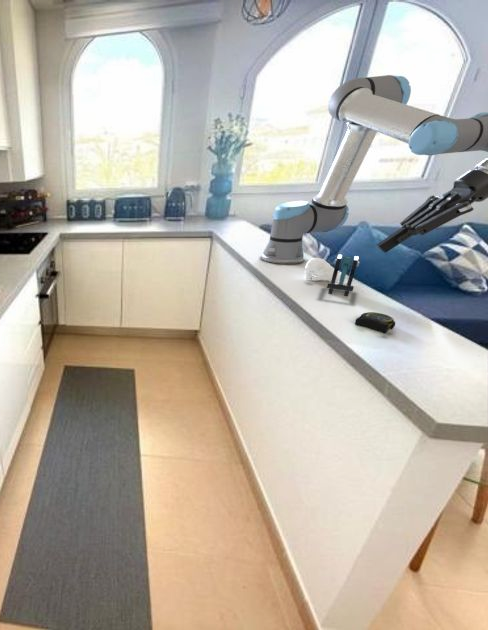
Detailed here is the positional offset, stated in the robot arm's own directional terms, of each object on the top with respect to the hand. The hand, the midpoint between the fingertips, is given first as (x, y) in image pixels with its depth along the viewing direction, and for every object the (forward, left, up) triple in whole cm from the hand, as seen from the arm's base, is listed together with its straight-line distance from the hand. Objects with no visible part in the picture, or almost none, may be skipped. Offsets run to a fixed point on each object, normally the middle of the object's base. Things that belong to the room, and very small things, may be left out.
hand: (381, 248), depth 93 cm
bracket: (-9, -4, -18) cm, 20 cm away
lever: (-5, -5, -10) cm, 12 cm away
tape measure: (+15, -3, -18) cm, 24 cm away
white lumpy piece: (-21, -5, -18) cm, 28 cm away
